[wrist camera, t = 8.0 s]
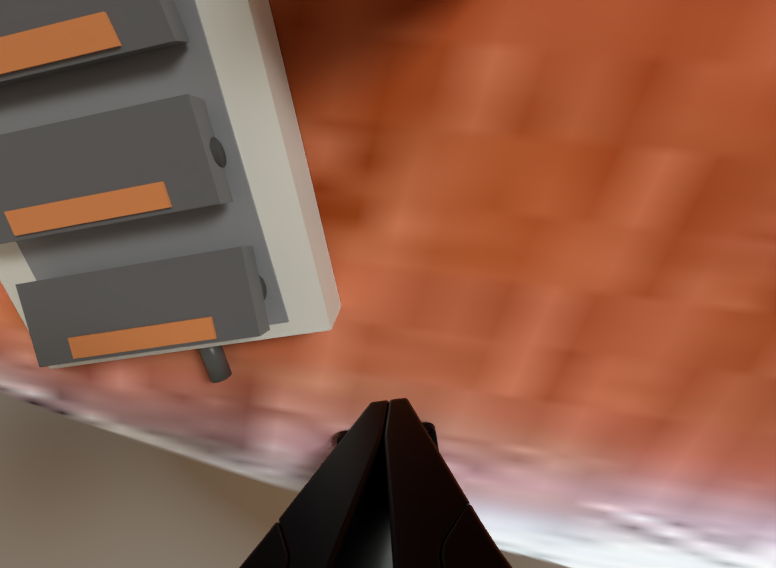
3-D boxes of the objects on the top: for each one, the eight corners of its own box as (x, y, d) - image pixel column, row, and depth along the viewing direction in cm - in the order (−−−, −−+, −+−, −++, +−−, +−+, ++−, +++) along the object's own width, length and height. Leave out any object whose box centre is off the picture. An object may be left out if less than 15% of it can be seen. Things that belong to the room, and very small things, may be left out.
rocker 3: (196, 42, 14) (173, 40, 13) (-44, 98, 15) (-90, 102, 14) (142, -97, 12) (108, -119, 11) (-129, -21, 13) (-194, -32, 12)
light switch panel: (351, 351, 22) (343, 381, 19) (114, 382, 24) (73, 414, 21) (249, -82, 15) (212, -138, 12) (-75, 4, 17) (-176, -28, 14)
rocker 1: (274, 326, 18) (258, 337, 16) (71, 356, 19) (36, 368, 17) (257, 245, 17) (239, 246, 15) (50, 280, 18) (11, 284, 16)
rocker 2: (238, 201, 16) (218, 203, 14) (18, 241, 17) (-25, 248, 15) (211, 102, 15) (185, 92, 13) (-23, 152, 16) (-74, 149, 14)
